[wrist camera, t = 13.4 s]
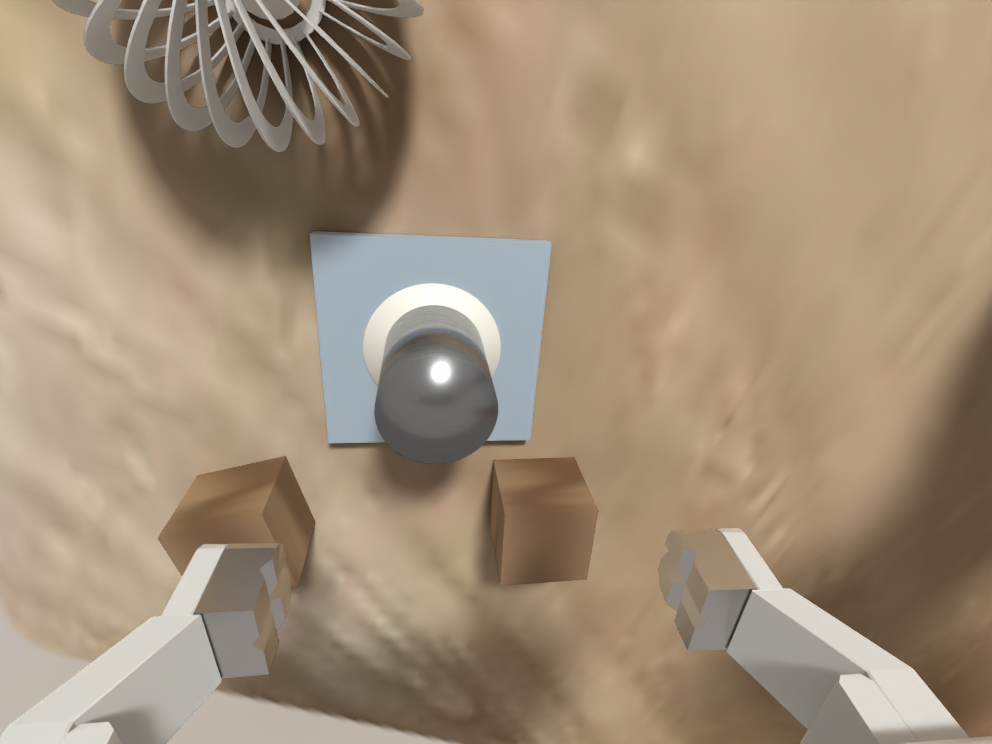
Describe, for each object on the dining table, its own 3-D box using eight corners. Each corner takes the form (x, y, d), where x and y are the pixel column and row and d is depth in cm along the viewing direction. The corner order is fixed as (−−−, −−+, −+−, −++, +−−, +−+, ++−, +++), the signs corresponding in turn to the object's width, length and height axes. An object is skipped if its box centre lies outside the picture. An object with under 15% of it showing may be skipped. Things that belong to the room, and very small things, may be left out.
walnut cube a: (573, 456, 25) (598, 510, 22) (565, 519, 27) (586, 579, 24) (493, 459, 25) (504, 515, 21) (489, 523, 27) (500, 585, 23)
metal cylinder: (480, 394, 22) (494, 462, 18) (386, 394, 22) (376, 465, 17) (485, 305, 21) (502, 357, 16) (383, 303, 20) (371, 356, 16)
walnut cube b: (286, 454, 23) (261, 514, 20) (315, 520, 25) (297, 586, 22) (198, 474, 23) (157, 538, 20) (234, 539, 25) (202, 608, 22)
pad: (548, 240, 21) (552, 244, 20) (527, 433, 24) (530, 441, 24) (312, 231, 19) (309, 234, 19) (330, 435, 23) (327, 444, 22)
